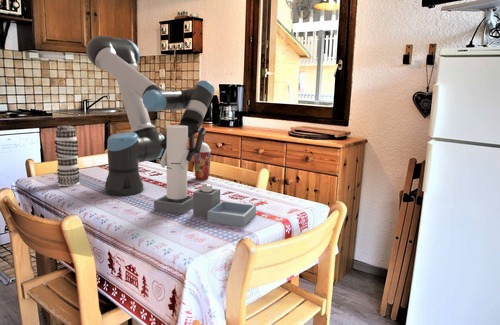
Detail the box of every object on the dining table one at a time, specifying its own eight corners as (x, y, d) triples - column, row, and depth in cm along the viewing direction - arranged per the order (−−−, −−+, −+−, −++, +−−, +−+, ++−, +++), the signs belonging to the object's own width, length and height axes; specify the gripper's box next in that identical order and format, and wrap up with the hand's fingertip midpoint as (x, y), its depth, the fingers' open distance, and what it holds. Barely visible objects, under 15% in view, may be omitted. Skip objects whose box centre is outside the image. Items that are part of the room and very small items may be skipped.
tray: (207, 221, 126) (207, 211, 125) (221, 210, 138) (222, 200, 137) (244, 227, 122) (244, 216, 122) (255, 214, 134) (256, 205, 133)
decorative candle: (56, 188, 160) (52, 127, 155) (57, 182, 168) (53, 125, 163) (80, 186, 164) (77, 127, 159) (80, 181, 172) (77, 124, 167)
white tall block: (182, 200, 134) (183, 128, 129) (163, 198, 135) (163, 126, 130) (189, 194, 141) (190, 125, 136) (171, 192, 142) (171, 124, 137)
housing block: (193, 214, 132) (193, 192, 131) (201, 209, 139) (201, 187, 137) (212, 217, 130) (212, 194, 128) (219, 211, 137) (220, 189, 135)
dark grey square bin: (154, 210, 135) (153, 200, 135) (169, 202, 146) (169, 193, 145) (182, 214, 132) (182, 204, 132) (196, 205, 142) (196, 196, 142)
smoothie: (213, 177, 186) (214, 136, 182) (206, 181, 178) (206, 138, 174) (198, 175, 188) (198, 135, 184) (189, 179, 181) (189, 137, 177)
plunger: (199, 197, 132) (199, 185, 131) (204, 194, 135) (204, 183, 135) (209, 198, 131) (209, 186, 130) (213, 195, 134) (213, 184, 134)
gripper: (221, 124, 144) (202, 175, 132) (173, 120, 150) (150, 169, 138) (216, 110, 138) (195, 163, 126) (166, 107, 144) (142, 157, 132)
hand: (172, 166), depth 132 cm, fingers closed on white tall block, 7 cm apart
